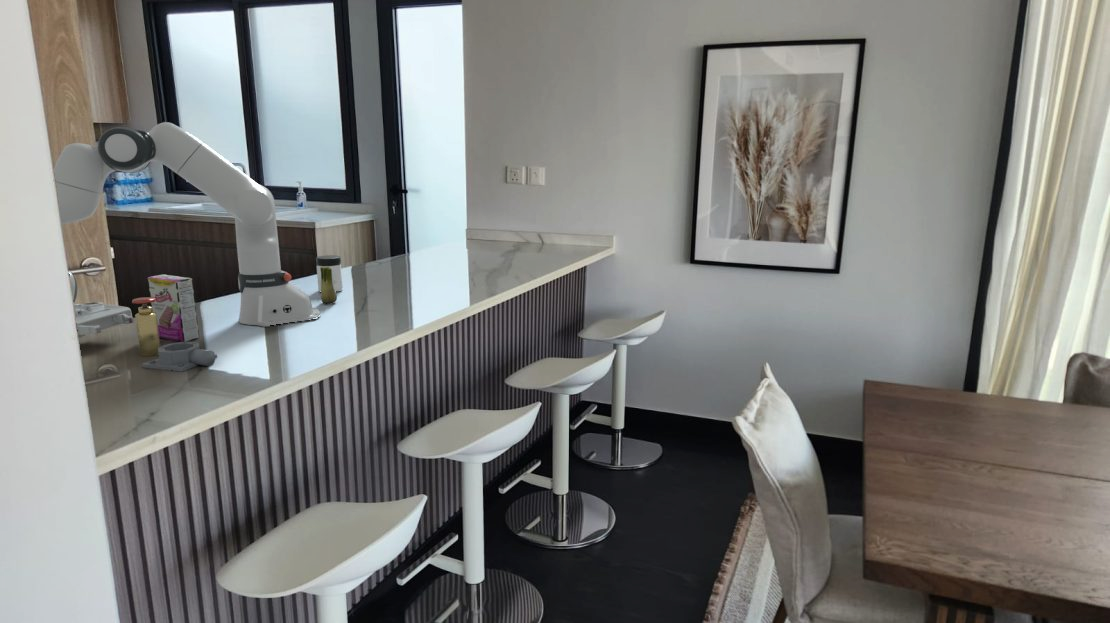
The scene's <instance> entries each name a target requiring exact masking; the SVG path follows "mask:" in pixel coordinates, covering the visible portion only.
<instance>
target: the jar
mask: <svg viewBox="0 0 1110 623" xmlns="http://www.w3.org/2000/svg"><path fill="white" fill-rule="evenodd" d="M341 258H342V257H341V256H339V255H333V254H331V255H328V254H327V255H320V256H316V258H315V261H316V275H317V276H316V278H317V290H318V292H319V291H321V267H329V268H331V269H332V283H333V287H334V290H335V291H341V292H342V291H343V289H342V288H343V275H342V263H341V262H342V260H341Z"/></svg>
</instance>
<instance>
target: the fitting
mask: <svg viewBox="0 0 1110 623" xmlns="http://www.w3.org/2000/svg"><path fill="white" fill-rule="evenodd" d="M157 355H158V358H155V359H151V360H149V361H146V362H144V363H141V365H142V366H141V367H142V368H146V369H152V370H161V371H171V370H173V372H180V373H181V372H182V371H183V372H185V371H187V370H190V369H192V368H195V367H197V366H206V367H210V365H211V366H212V365H213V364H214V363H215V361H216V359H217V358H218V354H216V353H215V351H213V350H211V349H202V348H201V349H200V344H199V342H197V341H196V342H195V341H187V342H181V341H178V342H172V343H168V344H165V345H161V347H158V354H157ZM216 357H217V358H216Z"/></svg>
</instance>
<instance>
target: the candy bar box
mask: <svg viewBox="0 0 1110 623" xmlns="http://www.w3.org/2000/svg"><path fill="white" fill-rule="evenodd" d="M147 282H148V283H147V284H148V289H149V297H154V298H155V300H156V301H155V302H152V303H150V304H151V307H152V312H156V315H157V323H158V330H159V338H160V339H165V340H170V341H171V340H172V341H178V342H191V341H194V340H198V339H200V333H199V332H200V331H199V330H200V329H199V324H198V315H197V313H198V312H197V308H196V305H197V304H196V298H195V291H194V282H193V278H191V277H185V276H177V275H171V274H158V275H153V276H149V277H147ZM193 339H194V340H193ZM190 340H191V341H190Z"/></svg>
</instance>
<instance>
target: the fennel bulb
mask: <svg viewBox="0 0 1110 623" xmlns="http://www.w3.org/2000/svg"><path fill="white" fill-rule="evenodd" d="M320 299H321V303H322V302H323V303H322V304H324V303H332V304H334V303H336V301H337V300H338V295H337V292H335V290H334V287H333V283H332V269H331V268H329V267H321V293H320ZM333 302H334V303H333Z"/></svg>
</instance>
